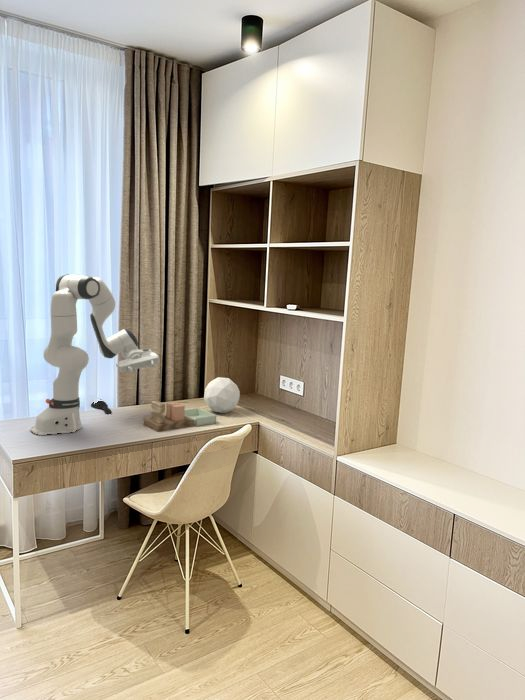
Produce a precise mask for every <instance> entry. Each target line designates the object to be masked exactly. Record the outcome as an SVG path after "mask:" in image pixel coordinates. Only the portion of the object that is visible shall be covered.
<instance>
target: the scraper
mask: <svg viewBox="0 0 525 700" xmlns="http://www.w3.org/2000/svg"><path fill="white" fill-rule="evenodd" d="M150 404H151V405H150V406H151V407H150V408H151V409H150V411H151V412H150V413H151V414H150V416H151V417H150V418H151V420H153V421H155V422H157V423H164V422H165V415H166V403H164V402H161V401H160V400H151V403H150Z"/></svg>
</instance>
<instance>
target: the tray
mask: <svg viewBox="0 0 525 700" xmlns="http://www.w3.org/2000/svg"><path fill="white" fill-rule="evenodd" d="M184 416H186V417H189V418H191V419H193V420H194V426H193V427H200V426H201V427H202V426H208V425H213V424H216V423H217V415H216V414H215V413H212V412H209V411H207V410H205V409H201V408H199V407H194V408H188V409H187V408H186V409H185V411H184Z"/></svg>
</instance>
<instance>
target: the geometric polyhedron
mask: <svg viewBox="0 0 525 700" xmlns="http://www.w3.org/2000/svg"><path fill="white" fill-rule="evenodd" d="M240 393H241V392H240V389H239V387H238V385H237V384H236V383H235V382H234V381H233V380H232V379H230V378H228V377H221V376H219V377H216V378H214V379H212V380H211V381H210V382H208V383H207V385H206V387H205V389H204V396H203V400H204V402H205V403H206V405H207V407H208V408H209V409H210V410H212V411H213V412H214V413H218V412H219V414H227V413H229V412H230V411H232V410H234V409H235V408H236V407H237V404H238V403H239V400H240V396H241V394H240Z"/></svg>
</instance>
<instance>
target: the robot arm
mask: <svg viewBox="0 0 525 700" xmlns="http://www.w3.org/2000/svg"><path fill="white" fill-rule="evenodd" d="M78 300H88V301H89V303H90V305H91V308H92V310H91V314H90V315H89V316H90V322H91V324H92V325H91V326H92V328H93V332H94V334H95V337H96V340H97V341H96V342H97V345H98V349H99V352H100V353H101V355H102V356H103V357H104V358H106V359H113V358H115V357H116V356H117V355H119V354H121V356H122V357H123V359H124V360H123V359H122V360H119V361H118V363H116V364H115V366H116V368H118V370H119V372H120V373H128V372H130V373H135V372H136V370H139V369H142V368H146V367H150V368H151V369H152V368H154V367H155V366H154V365H159V364H160V363H161V361H160V357H159V355H158V354H157V353H155V352H154V351H152V349H139V348H138V347H139V342H138V339H137V338H136V336H135V335H134V333H133V332H132V331H131V329H130V330H129V329H126V328H123V329H121V330H120V331H118V332H116V333H114V334H112V335H111V336H109V337H107V338H106V335H105V332H104V330H103V329H104V328H103V325H104V323H105V322H106V321H107V319H108V318H109V317H110V316H111V315H112V314H113V312H114V311H115V309H116V300H115V298H114V295H113V293H112V292H111V290H110V289H109V287H108V285H107V284H106V282H104V280H103V279H102V278H100V277H99V276H95V277H94V276H89V275H82V274H68V273H67V274H63V275H61V276H59V277H58V278H57V280H56V284H55V292H53V294H52V296H51V301H50V329H51V330H50V337H49V342H48V345H47V346H46V347H45V348H44V351H43V359H44V361H45V362H46V363H47V364H49V365H51V366H53V367H56V368H58V369H59V370H58V374H57V376H56V378H55V379H54V380H53V383H52V384H53V385H52V386H53V387H52V393H53V394H52V395H53V396H52V398H51V399H50V398H46V399H45V403H46V404H48V406H47V408H45V409H44V410H43V411H42V412H40V413H39V414H38V415H37V416H36V418H35V425H31V426H30V428H29V431H30V430H31V431H32V432H33V433H32V432H31V431H30V432H31V433H32V434H34V433H35V434H34V435H36V434H38V435H37V436H48V435H47V434H52V435H58V434H57V433H62V434H69V433H70V432H73V433H76V432H77V431H78V430H81V429H82V428H83V424H82V420H81V415H80V405H81V401H80V397H79V395H80V391H79V390H80V389H79V385H80V379H81V375H82V372H83V370H84V369H85V368H87V366H88V364H89V360H90V359H89V358H90V357H89V354H88V353H87V351H85V350H84V349H82V348H80V347H78V346H76V345H75V346H74V345H73V344H72V343H73V339H74V336H75V335H76V334H77V332H78V315H77V312H78V311H77V306H76V305H77V303H78ZM76 430H77V431H76ZM75 431H76V432H75ZM70 434H71V433H70Z"/></svg>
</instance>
